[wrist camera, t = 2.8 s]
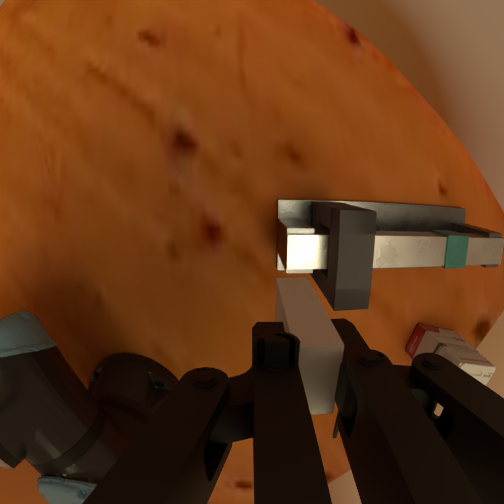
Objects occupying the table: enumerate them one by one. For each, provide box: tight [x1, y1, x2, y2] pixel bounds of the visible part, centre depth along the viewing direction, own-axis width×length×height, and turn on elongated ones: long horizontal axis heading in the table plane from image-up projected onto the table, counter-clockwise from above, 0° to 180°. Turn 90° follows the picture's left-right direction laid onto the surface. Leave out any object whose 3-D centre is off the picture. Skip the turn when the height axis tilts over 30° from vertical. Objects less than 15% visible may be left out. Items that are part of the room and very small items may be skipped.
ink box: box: [405, 324, 496, 386], centre depth 34 cm, size 9×5×12 cm, turn 73°
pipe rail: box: [277, 199, 504, 273], centre depth 31 cm, size 26×8×10 cm, turn 90°
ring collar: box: [311, 201, 377, 311], centre depth 28 cm, size 3×8×10 cm, turn 0°
